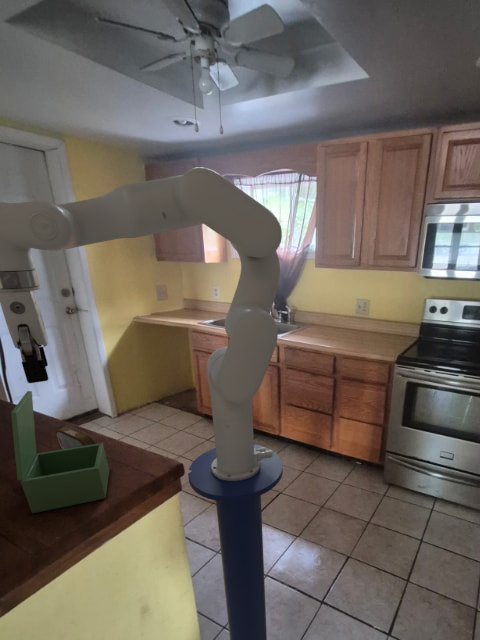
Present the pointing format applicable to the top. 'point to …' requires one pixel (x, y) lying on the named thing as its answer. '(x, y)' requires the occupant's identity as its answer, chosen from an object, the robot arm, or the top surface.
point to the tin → (73, 438)
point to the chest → (66, 477)
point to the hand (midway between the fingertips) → (38, 373)
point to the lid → (24, 434)
